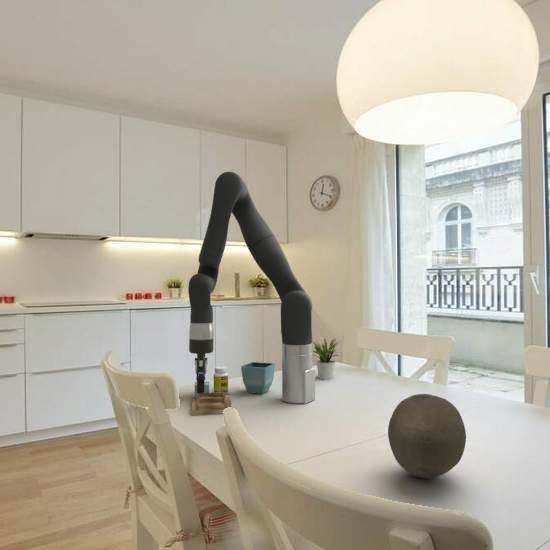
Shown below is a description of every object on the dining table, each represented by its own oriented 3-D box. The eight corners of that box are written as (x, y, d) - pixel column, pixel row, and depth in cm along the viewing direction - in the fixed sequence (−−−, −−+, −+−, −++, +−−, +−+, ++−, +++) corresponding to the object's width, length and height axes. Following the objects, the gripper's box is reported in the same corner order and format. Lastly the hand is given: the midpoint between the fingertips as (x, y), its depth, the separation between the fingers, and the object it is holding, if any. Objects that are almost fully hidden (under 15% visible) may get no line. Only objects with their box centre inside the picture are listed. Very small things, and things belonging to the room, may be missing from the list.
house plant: (349, 375, 176) (349, 332, 176) (347, 382, 163) (346, 336, 163) (313, 373, 179) (312, 331, 180) (307, 380, 166) (307, 336, 166)
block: (209, 395, 145) (209, 381, 145) (209, 399, 141) (209, 384, 141) (194, 396, 145) (194, 382, 145) (194, 400, 140) (194, 385, 140)
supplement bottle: (222, 395, 145) (221, 369, 145) (210, 394, 147) (210, 367, 147) (231, 392, 149) (231, 366, 149) (219, 390, 151) (219, 365, 151)
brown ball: (371, 472, 86) (370, 392, 86) (423, 457, 93) (422, 383, 94) (431, 503, 74) (430, 410, 74) (485, 483, 81) (484, 398, 82)
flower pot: (240, 393, 147) (240, 366, 147) (251, 388, 155) (251, 361, 156) (265, 396, 144) (265, 367, 144) (275, 390, 152) (275, 363, 152)
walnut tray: (229, 399, 140) (229, 391, 140) (232, 413, 125) (232, 404, 125) (192, 401, 138) (192, 393, 138) (191, 415, 124) (191, 406, 124)
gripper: (214, 339, 136) (213, 395, 136) (213, 334, 150) (212, 384, 150) (188, 340, 135) (187, 396, 135) (190, 334, 149) (189, 385, 149)
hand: (200, 390), depth 142 cm, fingers open, 7 cm apart
